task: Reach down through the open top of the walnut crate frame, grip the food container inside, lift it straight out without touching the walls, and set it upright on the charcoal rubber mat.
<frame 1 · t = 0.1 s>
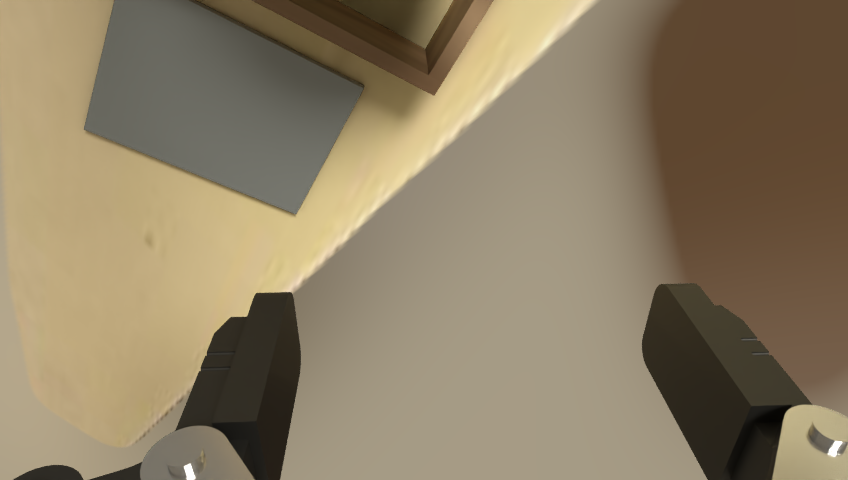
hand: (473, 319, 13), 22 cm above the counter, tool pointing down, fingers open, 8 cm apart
rubber mat: (223, 106, 33), on the counter
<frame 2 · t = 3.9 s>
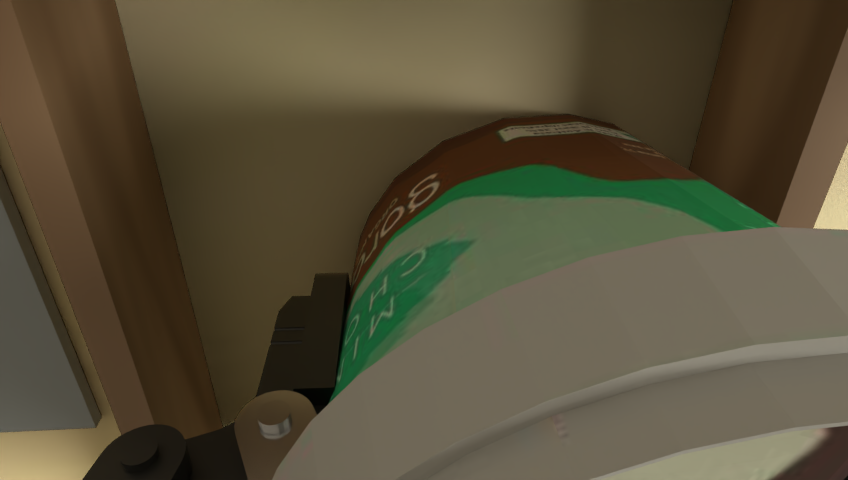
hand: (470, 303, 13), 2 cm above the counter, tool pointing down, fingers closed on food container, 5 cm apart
food container: (429, 249, 15), resting in crate frame, touching gripper
crate frame: (431, 253, 15), on the counter
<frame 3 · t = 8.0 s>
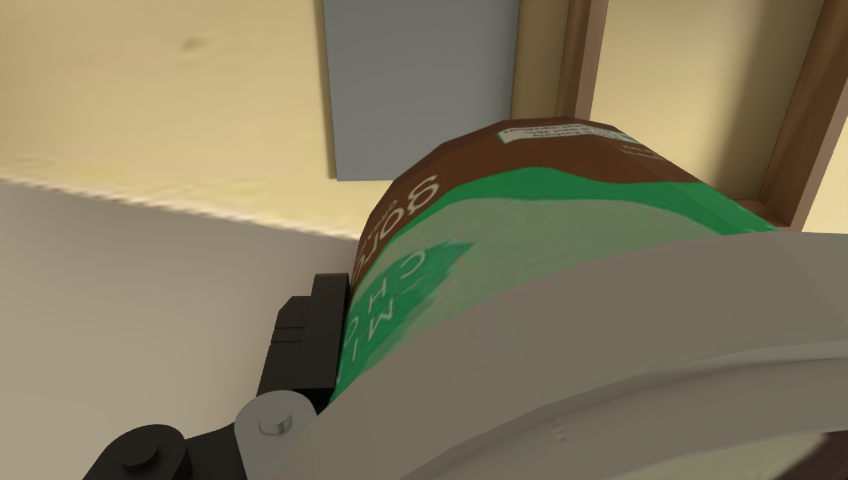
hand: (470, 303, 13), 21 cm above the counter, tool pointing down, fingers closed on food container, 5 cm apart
food container: (428, 250, 15), point 19 cm above the counter, touching gripper
crate frame: (686, 83, 33), on the counter
rubber mat: (421, 67, 31), on the counter
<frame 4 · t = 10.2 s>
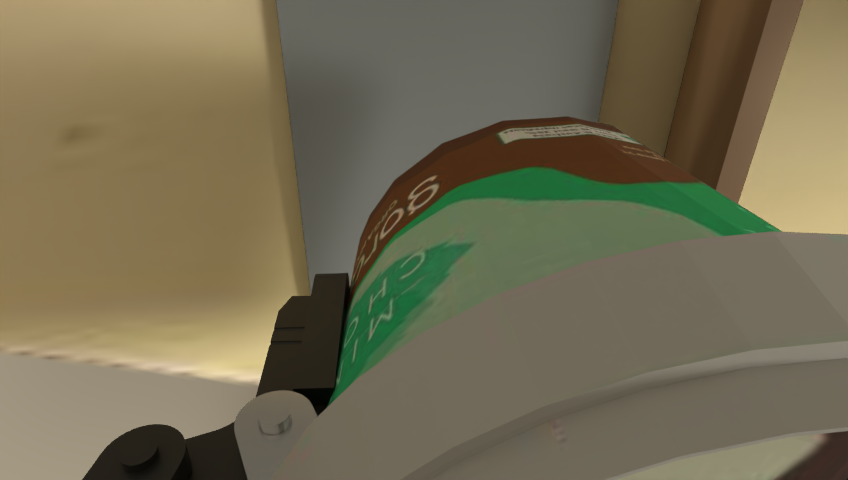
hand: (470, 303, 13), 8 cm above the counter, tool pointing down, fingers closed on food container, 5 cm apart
food container: (428, 251, 15), point 5 cm above the counter, touching gripper
rubber mat: (444, 166, 20), on the counter
when the fingers open (4 cm above the counter, at t = 12.0 s): food container moves 1 cm, resting on rubber mat.
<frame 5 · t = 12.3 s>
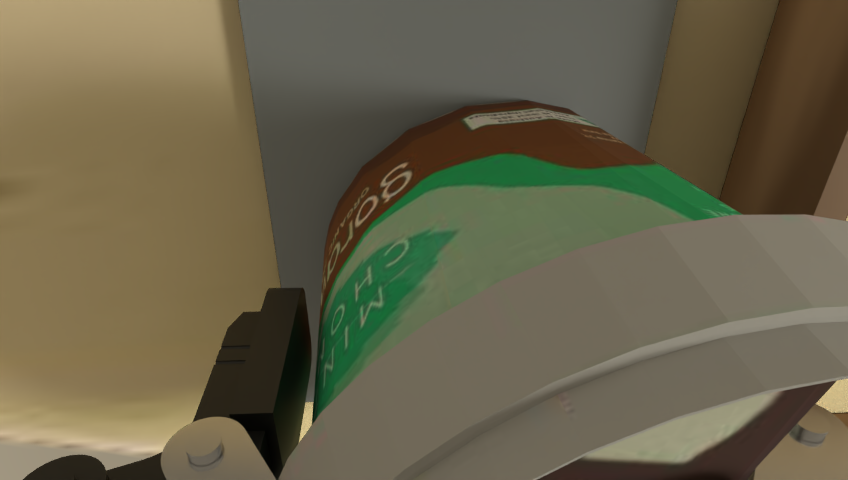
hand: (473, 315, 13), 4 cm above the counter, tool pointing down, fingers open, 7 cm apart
food container: (396, 234, 16), point 1 cm above the counter, touching rubber mat
rubber mat: (451, 224, 17), on the counter
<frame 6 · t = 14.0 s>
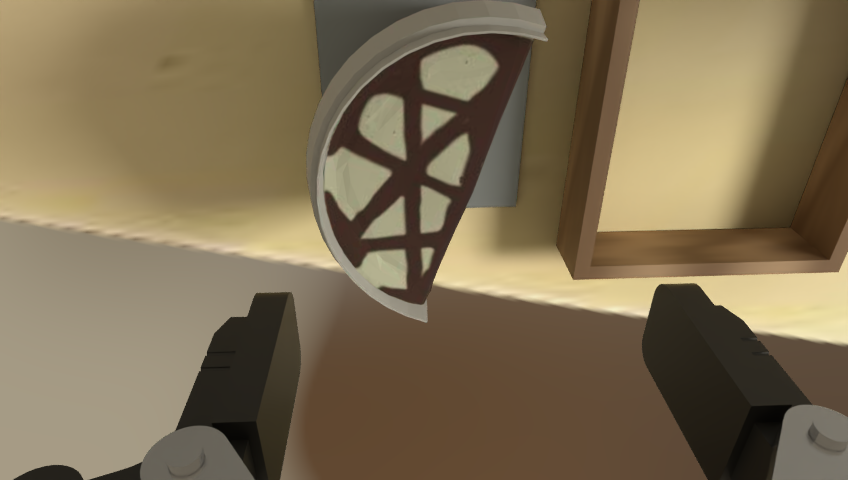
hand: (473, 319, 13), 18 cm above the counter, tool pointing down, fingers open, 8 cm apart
food container: (391, 87, 28), resting on rubber mat
crate frame: (716, 103, 30), on the counter
rubber mat: (425, 87, 28), on the counter
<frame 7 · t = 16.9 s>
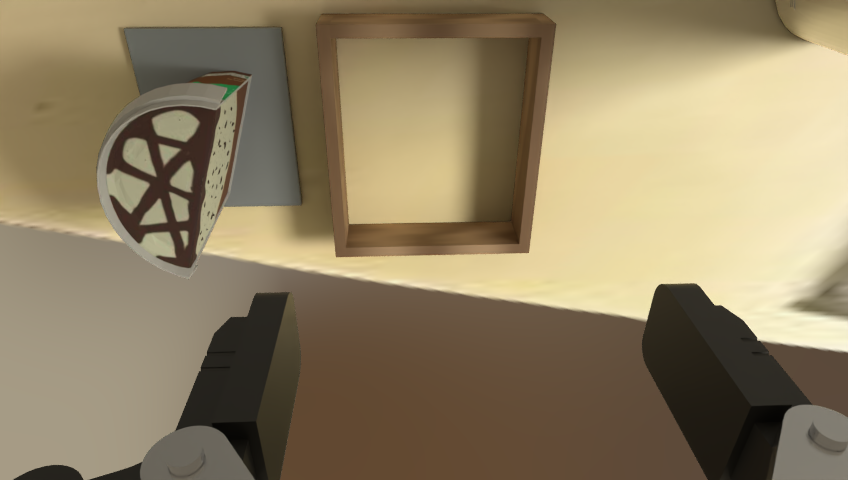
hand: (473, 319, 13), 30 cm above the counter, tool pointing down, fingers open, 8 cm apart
food container: (197, 123, 41), resting on rubber mat
crate frame: (431, 133, 42), on the counter
rubber mat: (221, 122, 41), on the counter
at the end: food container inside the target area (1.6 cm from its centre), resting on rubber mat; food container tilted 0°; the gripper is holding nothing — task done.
